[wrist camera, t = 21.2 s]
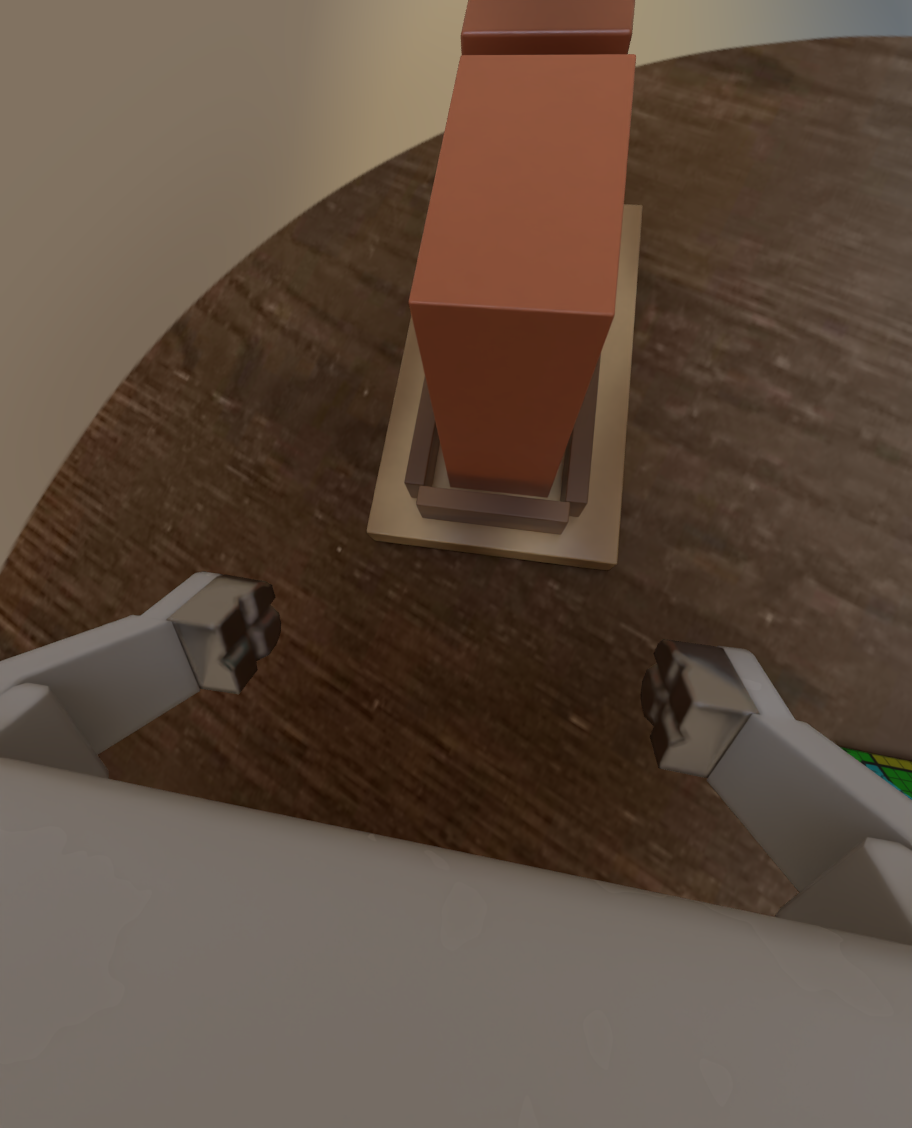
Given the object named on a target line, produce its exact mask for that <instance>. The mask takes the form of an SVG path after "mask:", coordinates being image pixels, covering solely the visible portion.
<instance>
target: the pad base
mask: <svg viewBox="0 0 912 1128" xmlns="http://www.w3.org/2000/svg"><path fill="white" fill-rule="evenodd" d="M634 7H635V0H468V5H467V9H466V14H465V18H464V23H463V27H462V32H461V51H462V55H598V54H628V49H629V45H630V41H631V36H632V30H633V18H634ZM641 221H642V205H625V204H624V208H623V220H622V232H621V245H620V257H619V269H618V281H617V293H616V305H615V316H614V318H613V321H612V324H611V327H610V329H609V332H608V335H607V338H606V340H605V343H604V346H603V348H602V351H601V354H600V357H599V359H598V362H597V365H596V368H595V370H594V373H593V376H592V378H591V381H590V384H589V387H588V389H587V392H586V395H585V398H584V400H583V403H582V406H581V408H580V411H579V414H578V417H577V419H576V422H575V425H574V428H573V430H572V433H571V436H570V439H569V441H568V444H567V447H566V449H565V452H564V455H563V458H562V460H561V463H560V466H559V469H558V471H557V474H556V477H555V479H554V482H553V485H552V488H551V490H550V493H549V496H548V497H547V498H546V497H537V496H528V495H519V494H510V493H501V492H492V491H483V490H475V489H466V488H457V487H450V484H449V480H448V475H447V471H446V466H445V462H444V458H443V453H442V449H441V444H440V440H439V435H438V431H437V427H436V422H435V418H434V413H433V409H432V404H431V400H430V395H429V391H428V387H427V382H426V378H425V373H424V369H423V364H422V360H421V355H420V351H419V347H418V342H417V338H416V333H415V329H414V324H413V320H412V316H411V319H410V324H409V329H408V334H407V339H406V343H405V348H404V353H403V358H402V363H401V367H400V372H399V377H398V382H397V387H396V391H395V396H394V401H393V406H392V411H391V415H390V420H389V425H388V430H387V435H386V439H385V444H384V449H383V454H382V459H381V463H380V468H379V473H378V478H377V483H376V487H375V492H374V497H373V502H372V507H371V511H370V516H369V521H368V526H367V531H366V532H367V534H368V535H369V536H370V537H371V538H372V539H373V540H375V541H382V542H390V543H398V544H405V545H413V546H421V547H428V548H436V549H444V550H452V551H459V552H467V553H475V554H483V555H490V556H498V557H506V558H514V559H521V560H529V561H537V562H545V563H552V564H560V565H568V566H576V567H583V568H591V569H599V570H607V571H608V570H610V569H611V568H613V567H614V566H615V565H617V560H618V546H619V532H620V518H621V503H622V489H623V475H624V461H625V447H626V433H627V419H628V405H629V391H630V376H631V362H632V348H633V334H634V320H635V306H636V292H637V278H638V264H639V249H640V235H641Z"/></svg>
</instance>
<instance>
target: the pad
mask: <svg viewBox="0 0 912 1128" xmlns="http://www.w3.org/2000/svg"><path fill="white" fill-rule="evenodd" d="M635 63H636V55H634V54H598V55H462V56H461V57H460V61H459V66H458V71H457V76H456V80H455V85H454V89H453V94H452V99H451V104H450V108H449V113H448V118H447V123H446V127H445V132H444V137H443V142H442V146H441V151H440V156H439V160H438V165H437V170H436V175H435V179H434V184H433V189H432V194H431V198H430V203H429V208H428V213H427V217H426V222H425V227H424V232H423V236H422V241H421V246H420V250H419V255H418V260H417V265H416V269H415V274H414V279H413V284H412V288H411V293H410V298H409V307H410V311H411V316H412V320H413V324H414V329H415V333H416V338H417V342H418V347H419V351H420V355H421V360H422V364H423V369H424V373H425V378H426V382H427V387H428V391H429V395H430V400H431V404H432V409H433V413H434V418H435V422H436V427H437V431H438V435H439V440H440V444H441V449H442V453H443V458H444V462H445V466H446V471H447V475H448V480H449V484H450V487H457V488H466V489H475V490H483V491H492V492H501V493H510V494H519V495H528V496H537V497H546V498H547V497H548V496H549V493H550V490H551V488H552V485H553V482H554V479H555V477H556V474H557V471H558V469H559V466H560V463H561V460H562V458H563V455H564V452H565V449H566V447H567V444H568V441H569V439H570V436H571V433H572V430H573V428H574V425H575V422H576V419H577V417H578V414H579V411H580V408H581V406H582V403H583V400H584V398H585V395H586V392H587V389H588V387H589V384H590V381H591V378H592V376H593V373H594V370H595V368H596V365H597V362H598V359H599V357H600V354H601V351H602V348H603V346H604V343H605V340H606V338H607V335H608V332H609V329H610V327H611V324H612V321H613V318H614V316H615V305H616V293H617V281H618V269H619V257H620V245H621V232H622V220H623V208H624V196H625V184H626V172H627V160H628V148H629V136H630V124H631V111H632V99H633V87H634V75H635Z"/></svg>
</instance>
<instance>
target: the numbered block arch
mask: <svg viewBox="0 0 912 1128" xmlns="http://www.w3.org/2000/svg"><path fill="white" fill-rule="evenodd" d="M840 748H841V749H843V750H844V751H845V752H847V753H848V754H850V755H851V756H852V757H854V758H855V759H856V760H858V761H859V762H861V763H862V764H863V765H865V766H866V767H867V768H869V769H870V770H871V771H873V772H874V773H876V774H877V775H878V776H880V777H881V778H882V779H884V780H885V781H886V782H888V783H889V784H891V785H892V786H893V787H895V788H896V789H897V790H899V791H900V792H902V793H903V794H904V795H906V796H907V797H908V798H910V799H911V800H912V761H908V760H903V759H898V758H893V757H888V756H883V755H878V754H873V753H868V752H863V751H858V750H853V749H848V748H843V747H840Z"/></svg>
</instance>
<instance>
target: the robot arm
mask: <svg viewBox="0 0 912 1128" xmlns="http://www.w3.org/2000/svg"><path fill="white" fill-rule="evenodd" d="M275 598H276V597H275V594H274V590H273V587H272V585H271V584H269V583H268V582H266V581H261V580H255V579H249V578H243V577H237V576H231V575H222V574H217V573H211V572H205V571H204V572H198V573H195V574H194V575H192V576H191V577H190V578H188V579H187V580H186V581H185V582H183V583H182V584H181V585H179V586H178V587H177V588H176V589H174V590H173V591H172V592H170V593H169V594H168V595H166V596H165V597H164V598H163V599H161V600H160V601H159V602H157V603H156V604H155V605H154V606H152V607H151V608H150V609H148V610H147V611H146V612H145V613H143V614H142V615H141V616H135V615H132V616H129V617H126V618H123V619H120V620H117V621H115V622H112V623H109V624H106V625H103V626H100V627H97V628H94V629H92V630H89V631H86V632H83V633H80V634H77V635H74V636H72V637H69V638H66V639H63V640H60V641H57V642H54V643H51V644H49V645H46V646H43V647H40V648H37V649H34V650H31V651H29V652H26V653H23V654H20V655H17V656H14V657H11V658H8V659H6V660H3V661H0V1128H912V800H911V799H910V798H908V797H907V796H906V795H904V794H903V793H902V792H900V791H899V790H897V789H896V788H895V787H893V786H892V785H891V784H889V783H888V782H886V781H885V780H884V779H882V778H881V777H880V776H878V775H877V774H876V773H874V772H873V771H871V770H870V769H869V768H867V767H866V766H865V765H863V764H862V763H861V762H859V761H858V760H856V759H855V758H854V757H852V756H851V755H850V754H848V753H847V752H845V751H844V750H843V749H841V748H840V747H839V746H837V745H836V744H835V743H833V742H832V741H830V740H829V739H828V738H826V737H825V736H824V735H822V734H821V733H819V732H818V731H817V730H815V729H814V728H813V727H811V726H810V725H809V724H807V723H806V722H801V721H796V720H795V719H794V717H793V716H792V714H791V712H790V711H789V709H788V708H787V706H786V705H785V703H784V702H783V700H782V698H781V697H780V695H779V694H778V692H777V691H776V689H775V687H774V686H773V684H772V683H771V681H770V680H769V678H768V677H767V675H766V673H765V672H764V670H763V669H762V667H761V666H760V664H759V662H758V661H757V659H756V658H755V656H754V655H753V654H752V653H751V652H749V651H748V650H747V649H740V648H732V647H724V646H717V647H716V646H711V645H703V644H696V643H689V642H682V641H675V640H667V639H662V640H661V641H660V642H659V643H658V645H657V647H656V649H655V652H654V656H655V659H656V662H657V664H655V665H653V666H652V667H650V668H648V669H647V670H646V673H645V675H644V678H643V680H642V686H641V705H642V709H643V713H644V717H645V718H646V719H647V720H648V721H649V722H650V723H651V724H652V725H653V726H654V728H653V730H652V732H651V734H650V739H651V743H652V747H653V750H654V754H655V757H656V761H657V764H658V768H660V769H665V770H669V771H674V772H679V773H684V774H689V775H694V776H699V777H704V778H708V779H707V782H708V783H709V784H710V785H711V786H712V788H713V789H714V790H715V791H716V792H717V794H718V795H719V796H720V797H721V798H722V800H723V801H724V802H725V803H726V804H727V806H728V807H729V808H730V809H731V810H732V812H733V813H734V814H735V815H736V817H737V818H738V819H739V820H740V821H741V823H742V824H743V825H744V826H745V827H746V829H747V830H748V831H749V832H750V833H751V835H752V836H753V837H754V838H755V839H756V841H757V842H758V843H759V844H760V845H761V847H762V848H763V849H764V850H765V852H766V853H767V854H768V855H769V856H770V858H771V859H772V860H773V861H774V862H775V864H776V865H777V866H778V867H779V868H780V870H781V871H782V872H783V873H784V874H785V876H786V877H787V878H788V879H789V880H790V882H791V883H792V884H793V885H794V887H795V888H796V889H797V890H798V891H799V893H798V894H797V895H796V896H795V897H793V898H792V899H791V900H790V901H788V902H787V903H786V904H785V905H784V906H782V907H781V908H780V909H779V911H778V912H777V914H776V915H775V917H773V916H768V915H763V914H758V913H754V912H749V911H744V910H739V909H734V908H729V907H724V906H720V905H715V904H710V903H705V902H700V901H695V900H691V899H686V898H681V897H676V896H671V895H666V894H662V893H657V892H652V891H647V890H642V889H638V888H633V887H628V886H623V885H618V884H613V883H609V882H604V881H599V880H594V879H589V878H585V877H580V876H575V875H570V874H565V873H561V872H556V871H551V870H546V869H541V868H537V867H532V866H527V865H522V864H517V863H513V862H508V861H503V860H498V859H493V858H489V857H484V856H479V855H474V854H469V853H465V852H460V851H455V850H450V849H445V848H441V847H436V846H431V845H426V844H421V843H417V842H412V841H407V840H402V839H397V838H392V837H387V836H383V835H378V834H373V833H368V832H363V831H358V830H354V829H349V828H344V827H339V826H334V825H329V824H325V823H320V822H315V821H310V820H305V819H300V818H296V817H291V816H286V815H281V814H276V813H271V812H267V811H262V810H257V809H252V808H247V807H242V806H238V805H233V804H228V803H223V802H218V801H213V800H209V799H204V798H199V797H194V796H189V795H184V794H180V793H175V792H170V791H165V790H160V789H155V788H151V787H146V786H141V785H136V784H131V783H126V782H122V781H117V780H112V779H108V774H109V771H108V769H107V768H106V766H105V765H104V764H103V762H102V761H101V759H100V758H99V757H98V754H100V753H101V752H103V751H104V750H106V749H108V748H109V747H111V746H112V745H114V744H116V743H117V742H119V741H120V740H122V739H124V738H125V737H127V736H128V735H130V734H132V733H133V732H135V731H136V730H138V729H140V728H141V727H143V726H144V725H146V724H148V723H149V722H151V721H152V720H154V719H156V718H157V717H159V716H160V715H162V714H164V713H165V712H167V711H168V710H170V709H172V708H173V707H175V706H176V705H178V704H180V703H181V702H183V701H184V700H186V699H188V698H189V697H191V696H192V695H194V694H196V693H197V692H199V691H200V689H207V690H213V691H220V692H227V693H234V694H240V692H241V691H242V690H243V688H244V687H245V686H246V684H247V683H248V682H249V681H250V679H251V678H252V677H253V675H254V674H255V673H256V671H257V661H258V660H260V659H262V658H264V657H266V656H268V655H269V654H270V653H271V652H272V650H273V649H274V647H275V646H276V644H277V641H278V639H279V636H280V633H281V620H280V615H279V613H278V612H277V611H276V610H275V608H274V607H273V606H272V605H271V603H272V602H273V600H274V599H275ZM199 688H200V689H199Z"/></svg>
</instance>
